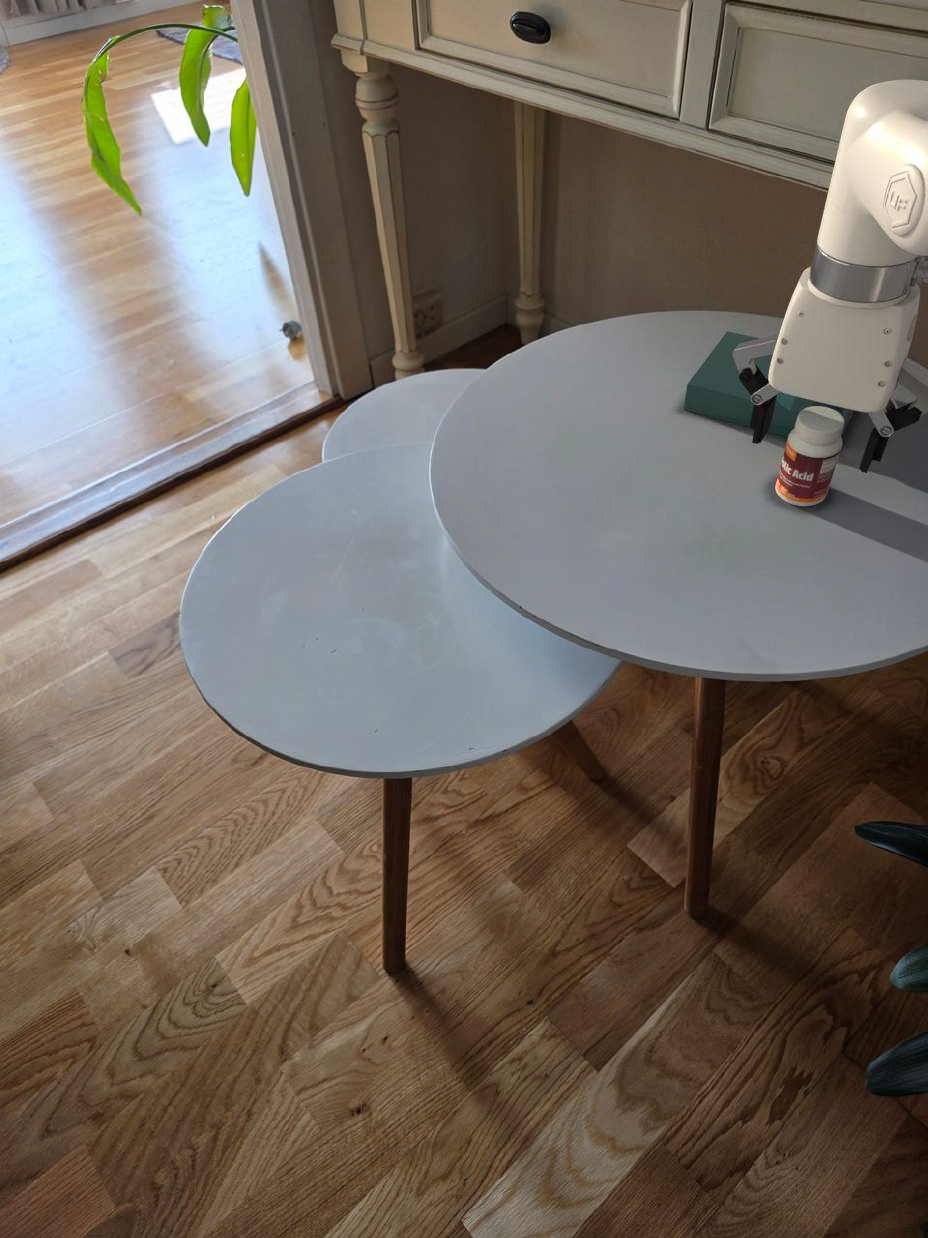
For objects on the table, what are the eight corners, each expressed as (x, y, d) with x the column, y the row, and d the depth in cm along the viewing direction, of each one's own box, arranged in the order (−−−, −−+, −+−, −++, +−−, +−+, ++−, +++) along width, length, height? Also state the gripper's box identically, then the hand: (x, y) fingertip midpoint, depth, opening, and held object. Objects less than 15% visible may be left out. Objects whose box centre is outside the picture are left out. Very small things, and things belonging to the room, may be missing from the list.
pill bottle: (764, 490, 84) (781, 417, 78) (796, 470, 86) (815, 397, 80) (805, 515, 81) (826, 440, 75) (837, 493, 83) (860, 419, 77)
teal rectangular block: (865, 389, 94) (878, 347, 91) (833, 451, 87) (845, 409, 84) (722, 356, 101) (729, 315, 97) (681, 412, 94) (687, 370, 90)
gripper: (993, 268, 66) (921, 452, 79) (767, 230, 73) (734, 405, 85) (973, 313, 62) (901, 500, 74) (736, 268, 69) (707, 446, 81)
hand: (812, 449), depth 80 cm, fingers open, 9 cm apart
